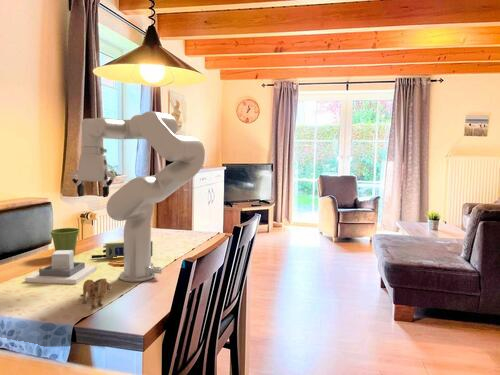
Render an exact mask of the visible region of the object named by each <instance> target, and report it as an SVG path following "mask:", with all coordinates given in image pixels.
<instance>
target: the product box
mask: <svg viewBox="0 0 500 375" xmlns="http://www.w3.org/2000/svg"><path fill="white" fill-rule="evenodd" d="M74 258H75V255H74V252H73V250H57V251H54V252H53V253H51V264H52V270H70V269H72V268H74V262H75V260H74Z"/></svg>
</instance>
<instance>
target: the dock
mask: <svg viewBox="0 0 500 375" xmlns="http://www.w3.org/2000/svg"><path fill="white" fill-rule="evenodd" d="M85 264H86V263H85V262H82V261H81V262H79V261H78V262H76V261H74V268H72V269H70V270H52V263H51V264H49V265H47V266H44V267H43V268H39V269H38V270H37V271H35V272H33V273H32V274H30V275H28V276H26V277H24V282H25V283H42V284H43V283H44V284H45V283H46V284H47V283H48V284H65V283H66V284H67V285H69V284H70V285H77V284H78V283H80V282H81V281H82V280H84V279H86V278H88V277H89V276H90V275H92V274H93V273H95V272H96V271H98V268H97V267H98V266H97V265H85Z"/></svg>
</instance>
